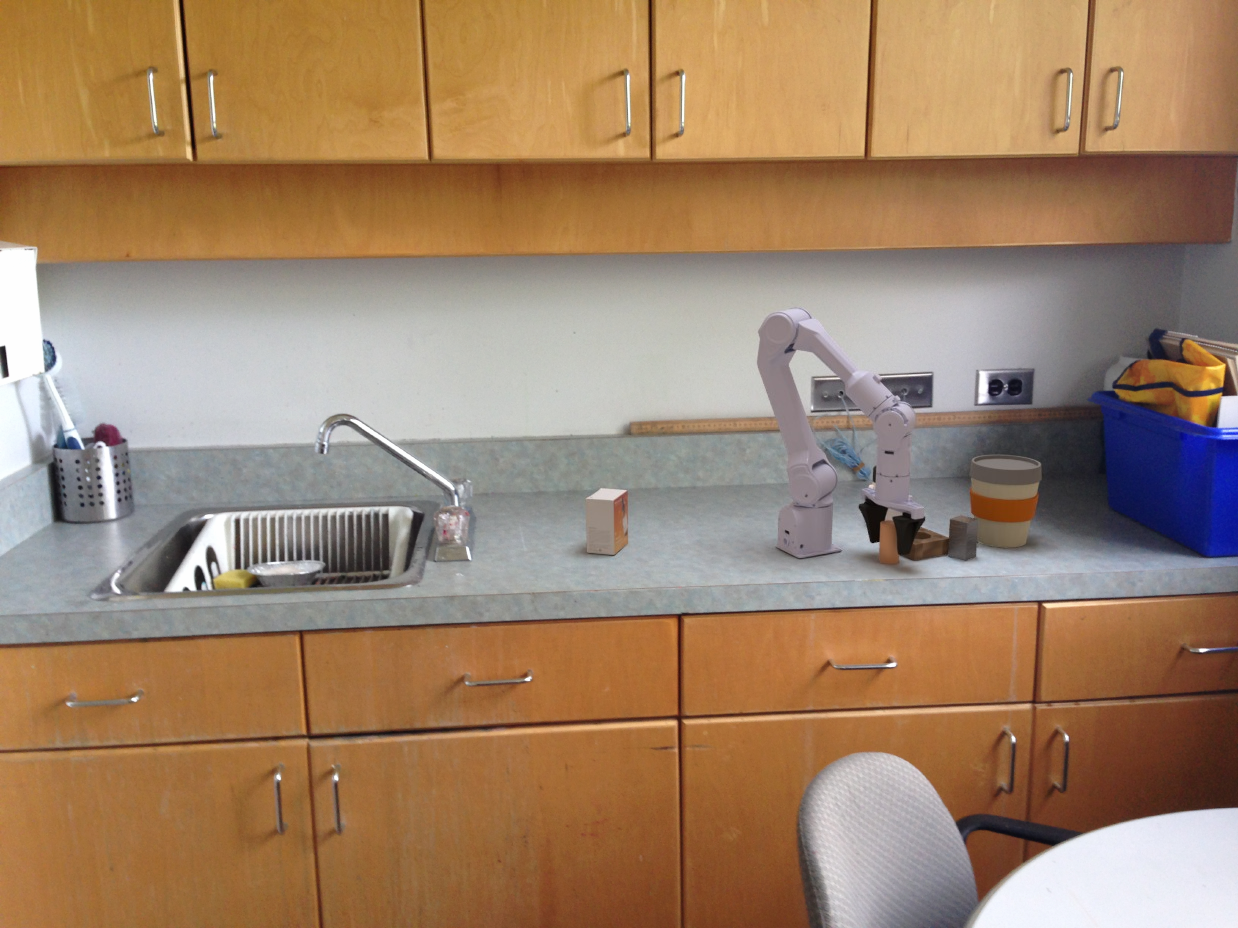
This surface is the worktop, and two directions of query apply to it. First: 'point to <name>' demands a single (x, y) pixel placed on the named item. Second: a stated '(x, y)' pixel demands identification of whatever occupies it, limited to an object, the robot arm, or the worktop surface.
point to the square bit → (963, 537)
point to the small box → (607, 521)
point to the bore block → (928, 545)
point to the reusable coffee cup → (1004, 498)
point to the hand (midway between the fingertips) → (889, 548)
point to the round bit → (888, 543)
